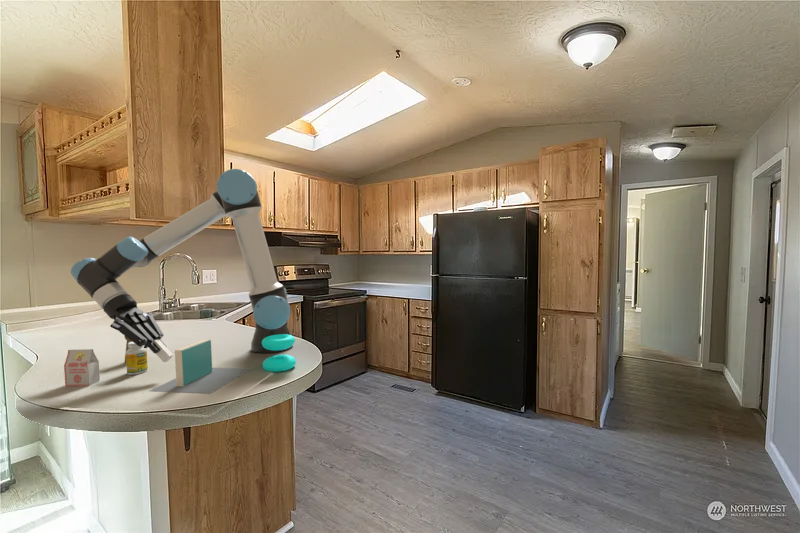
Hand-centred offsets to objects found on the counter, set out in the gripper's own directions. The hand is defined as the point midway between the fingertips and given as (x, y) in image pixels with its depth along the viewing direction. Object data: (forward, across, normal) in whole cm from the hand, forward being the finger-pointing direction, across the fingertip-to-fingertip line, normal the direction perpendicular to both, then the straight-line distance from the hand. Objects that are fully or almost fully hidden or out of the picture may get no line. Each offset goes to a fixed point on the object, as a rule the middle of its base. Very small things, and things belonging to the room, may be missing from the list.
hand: (168, 358), depth 108 cm
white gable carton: (-12, +6, -21) cm, 25 cm away
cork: (-14, -15, -23) cm, 31 cm away
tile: (+10, 0, +2) cm, 10 cm away
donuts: (+24, -13, +15) cm, 31 cm away
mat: (+12, 0, +4) cm, 13 cm away
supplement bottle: (-6, -5, -16) cm, 17 cm away
